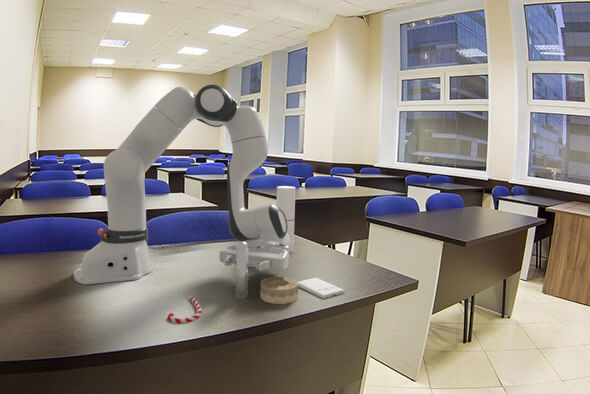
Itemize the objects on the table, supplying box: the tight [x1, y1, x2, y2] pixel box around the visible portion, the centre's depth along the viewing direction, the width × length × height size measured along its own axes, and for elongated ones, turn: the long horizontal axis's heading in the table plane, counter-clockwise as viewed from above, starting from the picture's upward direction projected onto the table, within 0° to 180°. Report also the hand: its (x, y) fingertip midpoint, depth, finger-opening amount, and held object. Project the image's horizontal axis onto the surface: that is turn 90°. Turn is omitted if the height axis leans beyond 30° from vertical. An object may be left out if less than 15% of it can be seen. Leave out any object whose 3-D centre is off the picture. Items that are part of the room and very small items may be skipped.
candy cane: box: [167, 296, 203, 324], centre depth 105 cm, size 8×1×15 cm
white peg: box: [235, 241, 249, 300], centre depth 114 cm, size 3×3×16 cm
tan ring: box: [260, 276, 299, 305], centre depth 116 cm, size 10×10×4 cm
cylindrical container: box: [275, 185, 296, 253], centre depth 163 cm, size 7×7×25 cm
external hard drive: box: [297, 277, 346, 299], centre depth 123 cm, size 2×8×12 cm
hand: (242, 265), depth 114 cm, fingers open, 8 cm apart
